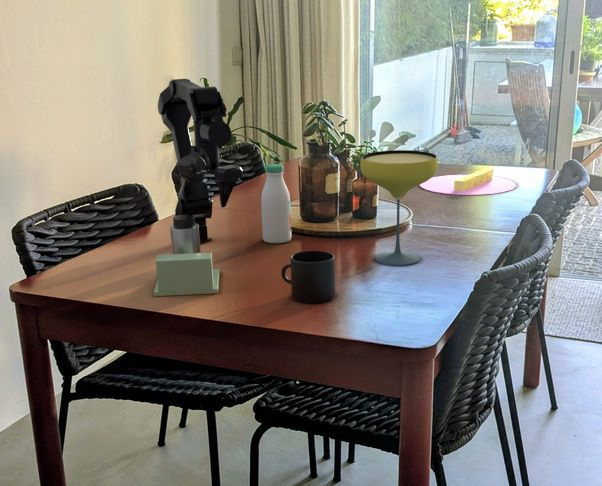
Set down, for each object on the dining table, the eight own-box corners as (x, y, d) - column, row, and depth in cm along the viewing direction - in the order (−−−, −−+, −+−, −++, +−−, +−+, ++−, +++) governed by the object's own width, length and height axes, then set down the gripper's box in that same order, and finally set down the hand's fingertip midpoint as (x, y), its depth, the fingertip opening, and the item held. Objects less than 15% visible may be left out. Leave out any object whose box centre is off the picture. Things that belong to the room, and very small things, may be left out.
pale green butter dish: (159, 275, 204) (156, 242, 201) (219, 273, 204) (217, 240, 202) (154, 296, 190) (150, 261, 187) (218, 293, 191) (215, 258, 188)
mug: (290, 286, 193) (289, 247, 190) (341, 291, 189) (340, 252, 186) (274, 300, 185) (272, 259, 182) (326, 305, 181) (325, 264, 178)
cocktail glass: (348, 255, 216) (347, 154, 206) (411, 245, 222) (413, 147, 213) (382, 274, 200) (383, 166, 191) (449, 263, 206) (453, 158, 197)
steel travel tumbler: (170, 275, 201) (165, 216, 195) (196, 270, 203) (192, 212, 198) (179, 282, 195) (174, 222, 190) (206, 277, 198) (202, 218, 193)
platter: (531, 180, 292) (532, 170, 291) (491, 199, 268) (492, 188, 267) (446, 172, 310) (446, 162, 309) (401, 188, 286) (402, 178, 285)
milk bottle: (288, 244, 226) (285, 168, 219) (259, 243, 228) (256, 167, 220) (294, 236, 233) (292, 162, 226) (266, 236, 235) (263, 162, 227)
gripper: (155, 142, 209) (161, 205, 214) (207, 149, 197) (212, 216, 202) (190, 136, 216) (195, 197, 222) (242, 142, 204) (246, 207, 210)
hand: (210, 204), depth 214 cm, fingers open, 9 cm apart
